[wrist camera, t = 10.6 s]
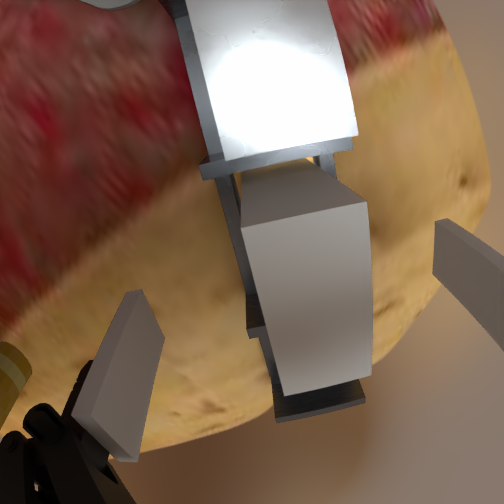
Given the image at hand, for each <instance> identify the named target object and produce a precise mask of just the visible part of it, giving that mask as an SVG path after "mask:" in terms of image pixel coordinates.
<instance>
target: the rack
mask: <svg viewBox="0 0 504 504" xmlns="http://www.w3.org/2000/svg"><path fill="white" fill-rule="evenodd" d="M158 1H159V2H160V3H161V4H162V6H163V7H164V8H165V10H166V11H167V12H168V14H169V15H170V16H171V18H172V19H173V20H174V22H175V23H176V27H177V31H178V35H179V39H180V43H181V48H182V52H183V56H184V60H185V64H186V68H187V72H188V76H189V80H190V84H191V88H192V92H193V96H194V100H195V104H196V108H197V112H198V116H199V119H200V123H201V127H202V131H203V135H204V139H205V143H206V147H207V150H208V156H207V157H206V158H205V159H204V160H203V161H202V162H201V163H200V164H199V168H200V172H201V175H202V179H203V181H204V180H208V179H212V178H215V181H216V184H217V188H218V192H219V196H220V199H221V203H222V207H223V211H224V214H225V218H226V222H227V225H228V229H229V233H230V236H231V240H232V244H233V247H234V251H235V255H236V258H237V262H238V265H239V269H240V273H241V276H242V280H243V283H244V287H245V293H246V329H247V333H248V336H249V339H251V338H257V337H259V340H260V343H261V347H262V350H263V353H264V357H265V360H266V364H267V367H268V371H269V374H270V377H271V384H272V393H273V403H274V412H275V419H276V422H277V423H280V422H286V421H291V420H296V419H301V418H306V417H311V416H316V415H320V414H324V413H328V412H333V411H336V410H341V409H344V408H348V407H352V406H356V405H359V404H363V403H365V399H366V397H365V395H364V392H363V389H362V387H361V384H360V381H359V379H355V380H352V381H348V382H344V383H340V384H337V385H333V386H328V387H324V388H320V389H316V390H311V391H307V392H302V393H297V394H292V395H287V396H284V392H283V389H282V385H281V381H280V377H279V374H278V370H277V366H276V362H275V358H274V355H273V351H272V347H271V343H270V339H269V336H268V332H267V328H266V324H265V320H264V316H263V313H262V309H261V305H260V301H259V297H258V293H257V290H256V286H255V282H254V278H253V274H252V270H251V266H250V263H249V259H248V255H247V251H246V247H245V243H244V239H243V235H242V232H241V171H245V170H249V169H254V168H258V167H263V166H267V165H272V164H277V163H282V162H287V161H292V160H297V159H302V158H306V159H308V160H309V161H311V162H312V163H314V164H315V165H317V166H318V167H320V168H321V169H322V170H324V171H325V172H327V173H328V174H330V175H331V176H333V177H334V178H335V179H337V175H336V169H335V163H334V157H333V153H335V152H341V151H347V150H353V143H352V137H351V136H358V129H357V123H356V118H355V112H354V107H353V102H352V97H351V92H350V87H349V83H348V78H347V74H346V69H345V65H344V61H343V57H342V53H341V49H340V45H339V41H338V38H337V34H336V31H335V27H334V24H333V20H332V17H331V13H330V10H329V7H328V4H327V1H326V0H158Z"/></svg>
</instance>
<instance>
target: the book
mask: <svg viewBox="0 0 504 504" xmlns="http://www.w3.org/2000/svg"><path fill="white" fill-rule="evenodd" d="M31 374H32V369H31V366H30V364H29V362H28V360H27V359H26V358H25V357H24V355H23V354H22V353H21V352H20V351H19V350H18V349H16V348H15V347H14V346H12V345H11V344H9V343H7V342H2V341H1V342H0V430H1V428H2V426H3V424H4V422H5V420H6V418H7V416H8V414H9V412H10V411H11V409H12V407H13V405H14V403H15V401H16V400H17V398H18V396H19V394H20V393H21V391H22V389H23V387H24V386H25V384H26V382H27V381H28V379H29V377H30V376H31Z"/></svg>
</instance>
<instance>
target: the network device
mask: <svg viewBox="0 0 504 504" xmlns="http://www.w3.org/2000/svg"><path fill="white" fill-rule="evenodd" d="M79 1H82V2H84V3H87V4H90V5H92V6H95V7H97V8H100V9H103V10H111V11H114V10H120V9H124V8H127V7H130V6H132V5H134V4H136V3H138V2H140V1H141V0H79Z"/></svg>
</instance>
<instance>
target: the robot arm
mask: <svg viewBox="0 0 504 504" xmlns="http://www.w3.org/2000/svg"><path fill="white" fill-rule="evenodd" d="M432 274H433V275H434V276H435V277H436V278H437V279H438V280H439V281H440V282H441V283H442V284H443V285H444V286H445V287H446V288H447V289H448V290H449V291H450V292H451V293H452V294H453V295H454V296H455V297H456V298H457V299H458V300H459V302H461V304H462V305H463V306H464V307H465V308H466V309H467V310H468V311H469V312H470V313H471V314H472V315H473V317H474V318H475V319H476V320H477V321H478V322H479V323H480V324H481V325H482V327H483V328H484V329H485V330H486V331H487V332H488V333H489V335H490V336H491V337H492V338H493V339H494V340H495V342H496V343H497V344H498V345H499V346H500V348H501V349H502V350H503V351H504V256H502V255H501V254H500V253H498V252H497V251H495V250H494V249H493V248H491V247H490V246H488V245H487V244H486V243H484V242H483V241H481V240H480V239H478V238H477V237H475V236H474V235H473V234H471V233H470V232H468V231H467V230H465V229H464V228H462V227H460V226H459V225H457V224H456V223H454V222H453V221H451V220H450V219H448V218H446V219H442V220H438V221H435V237H434V258H433V272H432ZM164 339H165V337H164V335H163V333H162V331H161V329H160V327H159V325H158V323H157V321H156V318H155V316H154V314H153V312H152V310H151V308H150V306H149V304H148V301H147V299H146V297H145V295H144V293H143V290H142V289H139V290H135V291H130V292H126V294H125V296H124V298H123V300H122V302H121V304H120V306H119V308H118V310H117V312H116V314H115V316H114V318H113V320H112V322H111V324H110V326H109V329H108V331H107V333H106V335H105V337H104V339H103V341H102V343H101V346H100V348H99V350H98V352H97V354H96V356H95V359H94V360H89V361H88V362H87V364H86V365H85V366H84V367H83V368H82V369H81V371H80V373H79V376H78V378H77V380H76V381H77V382H75V384H74V387H73V391H71V394H70V396H69V398H68V401H67V403H66V405H65V408H64V410H63V413H62V415H61V416H60V415H59V414H58V413H57V412H56V411H55V410H54V408H53V407H52V406H51V405H49V404H47V403H40V404H38V405H35V406H34V407H33V408H31V409H30V410H29V411H28V413H27V414H26V415H25V418H24V420H23V429H24V430H25V431H27V432H28V433H29V434H30V435H31V436H32V437H33V438H29V439H27V438H26V437H25V436H24V435H23V434H22V433H21V432H19V431H11V432H9V433H7V434H6V435H5V436H4V437H3V439H2V441H1V443H0V504H136V502H135V501H134V499H133V498H132V496H131V495H130V493H129V492H128V490H127V489H126V487H125V486H124V484H123V483H122V481H121V479H120V478H119V476H118V475H117V473H116V471H115V470H114V468H113V466H112V465H111V464H110V463H109V462H108V457H109V453H110V454H111V455H112V456H113V457H114V458H115V459H117V460H118V461H123V462H138V457H139V452H140V446H141V441H142V436H143V431H144V426H145V421H146V416H147V412H148V407H149V402H150V398H151V393H152V389H153V384H154V380H155V376H156V372H157V367H158V363H159V359H160V355H161V351H162V347H163V343H164ZM34 483H35V484H36V485H38V492H37V491H36V490H35V486H34Z"/></svg>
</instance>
